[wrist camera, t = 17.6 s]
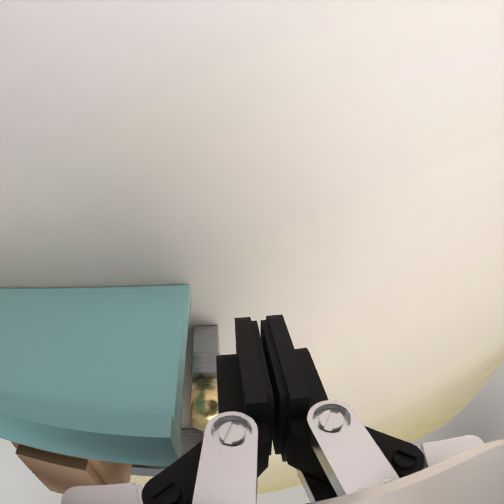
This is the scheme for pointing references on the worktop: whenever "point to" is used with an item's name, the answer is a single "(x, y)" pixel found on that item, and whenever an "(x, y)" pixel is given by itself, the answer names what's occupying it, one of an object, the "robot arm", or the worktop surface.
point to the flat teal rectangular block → (95, 371)
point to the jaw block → (71, 469)
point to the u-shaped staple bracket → (196, 393)
